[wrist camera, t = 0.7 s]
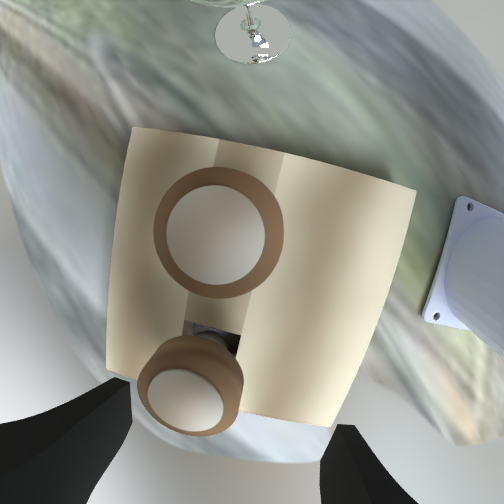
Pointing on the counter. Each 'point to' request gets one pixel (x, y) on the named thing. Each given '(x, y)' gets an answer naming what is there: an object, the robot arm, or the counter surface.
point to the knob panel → (275, 286)
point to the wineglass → (250, 31)
